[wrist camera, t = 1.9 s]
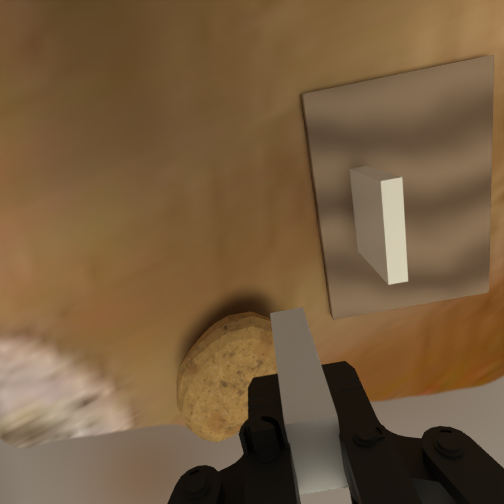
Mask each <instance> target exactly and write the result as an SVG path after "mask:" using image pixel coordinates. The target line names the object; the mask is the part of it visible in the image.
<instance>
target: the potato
mask: <svg viewBox="0 0 504 504" xmlns="http://www.w3.org/2000/svg"><path fill="white" fill-rule="evenodd" d="M277 373H278V371H277V364H276V356H275V348H274V341H273V333H272V325H271V319H270V318H269V317H266V316H263V315H260V314H257V313H254V312H251V311H250V312H245V313H239V314H234V315H229V316H227V317H225V318H223V319H222V320H220V321H218V322H216V323H214V324H213V325H212V326H211V327H210V328H209V329H208V330H207V331H206V332H205V333H203V335H202V336H201V337H200V338H199V339H198V340H197V342H196V343H195V344H194V345H193V347H192V348H191V349H190V351H189V352H188V353H187V355H186V356H185V358H184V360H183V361H182V363H181V365H180V367H179V372H178V376H177V407H178V409H179V411H180V413H181V415H182V417H183V419H184V421H185V423H186V425H187V427H188V428H189V429H190V430H191V431H193V432H194V433H195V434H196V435H198V436H199V437H200V438H202V439H204V440H208V441H213V442H218V441H221V440H224V439H227V438H230V437H232V436H234V435H235V434H236V433H238V432H239V431H240V428H241V426H242V425H243V423H244V422H245V421H246V420H247V419H248V386H249V384H250V383H251V381H252V379H253V378H254V377H259V376H265V375H271V374H277Z"/></svg>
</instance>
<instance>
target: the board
mask: <svg viewBox="0 0 504 504" xmlns="http://www.w3.org/2000/svg"><path fill="white" fill-rule="evenodd" d="M493 81H494V55H489V56H484V57H480V58H475V59H470V60H465V61H460V62H455V63H450V64H445V65H441V66H436V67H431V68H426V69H421V70H416V71H411V72H407V73H402V74H397V75H392V76H387V77H382V78H377V79H373V80H368V81H363V82H358V83H353V84H348V85H343V86H338V87H334V88H329V89H324V90H319V91H314V92H309V93H304V94H302V95H301V100H302V107H303V115H304V122H305V130H306V137H307V144H308V152H309V159H310V166H311V174H312V181H313V188H314V196H315V203H316V210H317V218H318V225H319V232H320V240H321V247H322V254H323V262H324V269H325V276H326V284H327V291H328V298H329V306H330V313H331V316H332V318H333V320H334V319H340V318H346V317H351V316H357V315H363V314H368V313H374V312H380V311H385V310H391V309H397V308H402V307H408V306H414V305H419V304H425V303H431V302H436V301H442V300H448V299H453V298H459V297H465V296H471V295H476V294H482V293H488V292H489V259H490V215H491V170H492V126H493ZM363 166H368V167H371V168H374V169H378V170H381V171H384V172H388V173H391V174H394V175H397V176H401V177H402V181H403V198H404V216H405V234H406V252H407V269H408V281H407V282H401V283H396V284H390V285H388V284H387V283H386V281H385V280H384V279H383V278H382V277H381V276H380V275H379V274H378V273H377V272H376V271H375V270H374V268H373V267H372V266H371V265H370V264H369V263H368V262H367V261H366V260H365V259H364V258H363V256H362V255H361V254H360V253H359V252H358V248H357V238H356V228H355V218H354V209H353V199H352V189H351V179H350V170H349V169H353V168H358V167H363Z"/></svg>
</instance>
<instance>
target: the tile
mask: <svg viewBox="0 0 504 504" xmlns="http://www.w3.org/2000/svg"><path fill="white" fill-rule="evenodd" d="M349 170H350V179H351V189H352V199H353V209H354V218H355V228H356V238H357V248H358V252H359V253H360V254H361V255H362V256H363V258H364V259H365V260H366V261H367V262H368V263H369V264H370V265H371V266H372V267H373V268H374V270H375V271H376V272H377V273H378V274H379V275H380V276H381V277H382V278H383V279H384V280H385V281H386V283H387V284H388V285H390V284H396V283H401V282H407V281H408V269H407V252H406V234H405V216H404V198H403V181H402V177H401V176H397V175H394V174H391V173H388V172H384V171H381V170H378V169H374V168H371V167H368V166H363V167H358V168H353V169H349Z"/></svg>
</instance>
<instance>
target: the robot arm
mask: <svg viewBox="0 0 504 504" xmlns="http://www.w3.org/2000/svg"><path fill="white" fill-rule="evenodd" d="M270 318H271V325H272V333H273V341H274V348H275V356H276V364H277V371H278V373H277V374H271V375H265V376H259V377H254V378H253V379H252V381H251V383H250V384H249V386H248V419H247V420H246V421H245V422H244V423H243V425H242V426H241V428H240V432H239V436H240V440H241V444H242V448H243V452H244V454H243V456H242V457H241V458H240V459H239V460H238V461H237V462H236V463H234V464H232V465H231V466H229V467H227V468H225V469H223V470H221V471H217V470H216V469H215V468H213V467H211V466H207V465H203V466H197V467H194V468H192V469H190V470H188V471H187V472H186V473H185V474H184V475H182V476H181V477H180V479H179V481H178V482H177V484H176V485H175V488H174V490H173V492H172V494H171V497H170V499H169V502H168V504H301V502H300V497H299V495H300V494H306V493H312V492H319V491H325V490H332V489H338V488H345V487H348V486H349V490H350V494H351V501H352V504H504V468H503V467H502V466H501V465H500V464H498V463H497V462H496V461H495V460H494V459H493V458H492V457H491V456H489V454H487V453H486V452H485V451H484V450H483V449H482V448H481V447H480V446H479V445H478V444H477V443H476V442H474V441H473V440H472V439H471V438H470V437H469V436H467V435H466V434H465V433H463V432H462V431H460V430H457V429H454V428H451V427H444V426H438V427H433V428H430V429H429V430H427V431H426V432H424V434H423V436H422V438H412V437H405V436H400V435H397V434H394V433H392V432H390V431H388V430H387V429H386V428H385V427H384V426H383V425H381V424H380V422H379V421H378V419H377V417H376V415H375V412H374V410H373V408H372V406H371V404H370V401H369V399H368V397H367V395H366V393H365V391H364V389H363V386H362V384H361V382H360V380H359V377H358V375H357V373H356V371H355V369H354V368H353V367H352V366H351V365H349V364H348V363H347V362H346V361H342V362H336V363H330V364H324V365H321V363H320V360H319V356H318V353H317V350H316V347H315V344H314V341H313V338H312V335H311V332H310V328H309V325H308V322H307V319H306V316H305V313H304V310H303V307H301V308H296V309H290V310H284V311H279V312H273V313H270ZM347 483H348V485H347Z"/></svg>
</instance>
